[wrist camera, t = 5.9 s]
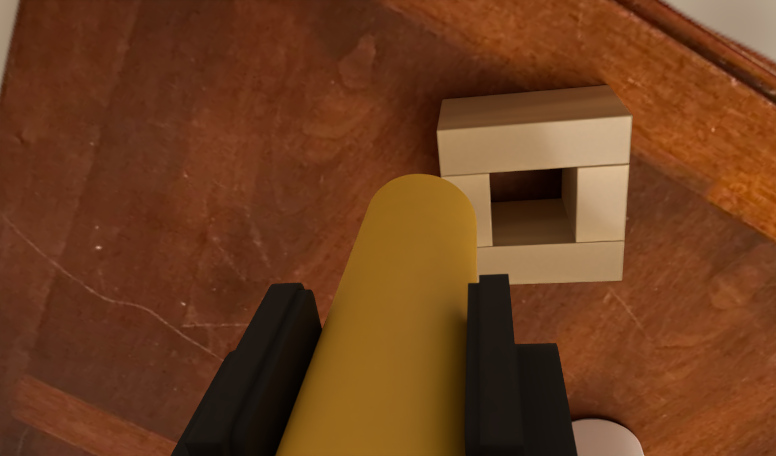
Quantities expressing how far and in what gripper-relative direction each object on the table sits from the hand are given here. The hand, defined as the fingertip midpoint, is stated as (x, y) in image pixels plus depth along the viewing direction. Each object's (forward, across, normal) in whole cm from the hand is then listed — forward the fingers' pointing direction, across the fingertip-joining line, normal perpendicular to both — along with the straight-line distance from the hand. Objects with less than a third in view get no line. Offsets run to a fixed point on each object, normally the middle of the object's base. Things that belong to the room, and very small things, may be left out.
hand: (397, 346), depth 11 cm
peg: (+5, 0, 0) cm, 5 cm away
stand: (+21, -4, +5) cm, 22 cm away
